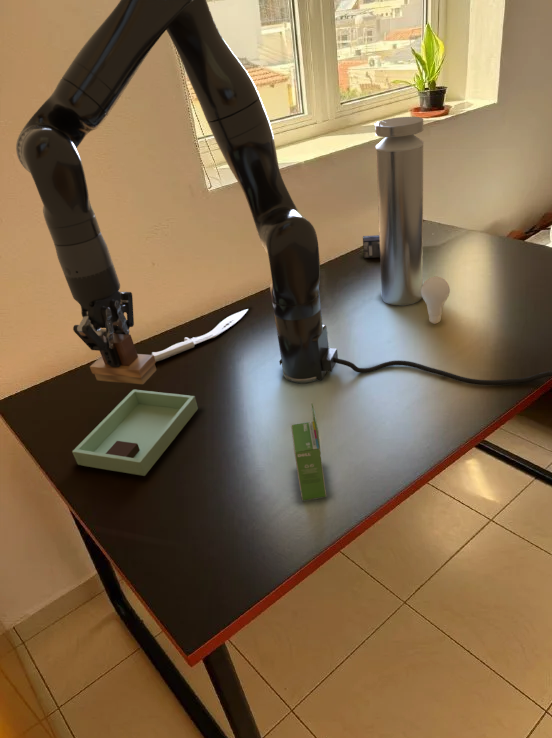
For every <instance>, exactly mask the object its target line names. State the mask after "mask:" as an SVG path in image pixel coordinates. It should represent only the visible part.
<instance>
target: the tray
mask: <svg viewBox="0 0 552 738" xmlns="http://www.w3.org/2000/svg"><path fill="white" fill-rule="evenodd" d="M198 409H199V406H198V403H197V399H196V396H195V395H189V394H188V395H187V394H179V393H169V392H161V391H159V392H158V391H153V390H142V389H132V390H131V391H130V392H129V393H128V394H127V395H126V396H125V397H124V398H123V399H122V400H121V401H120V402H119V403H118V404H117V405H116V406H115V407H114V408H113V409H112V410H111V412H110V413H108V414H107V416H106V417H104V418H103V419H102V421H101V422H99V424H98V425H97V426H96V427H95V428H94V429H93V430H92V431H91V432H89V434H88V435H87V436H86V437H85V438H84V439H83V440H82V441H81V442H80V443H79V444H78V445H76V447H75V448H74V449H72V451H71V453H72V455H73V457H74V460H75V462H76V464H77V465H78V466H84V467H88V468H89V467H90V468H95V469H100V470H106V471H113V472H118V473H126V474H131V475H137V476H143V477H145V476H146V475H148V473H149V471H150V470H151V469H152V468H153V466H154V465H155V464H156V463H157V461H158V460H159V459H160V458H161V456H162V455H163V454H164V452H165V451H166V450H167V449H168V447H169V446H170V445H171V444H172V443H173V441H174V440H175V439H176V437H177V436H178V435H179V434H180V432H182V430H183V429H184V427H185V426H186V425H187V423H188V422H189V421H190V420H191V418H192V417H193V416H194V415H195V414H196V412H197V411H198ZM116 441H123V442H130V443H137V444H138V447H139V449H140V451H139V452H138V453H137V454H136V455H135V457H134V458H129V457H123V456H117V455H110V454H106V452H107V451H108V450H109V449H110V448H111V447H112V446H113V445H114V444H115V442H116Z"/></svg>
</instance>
